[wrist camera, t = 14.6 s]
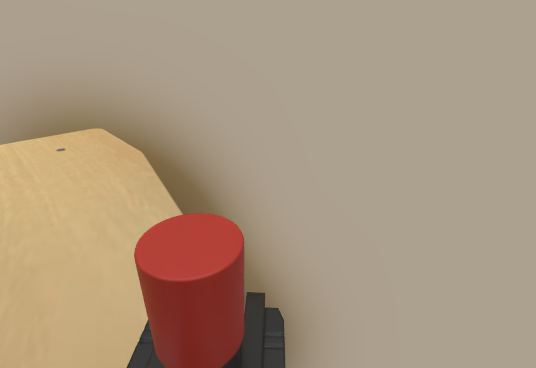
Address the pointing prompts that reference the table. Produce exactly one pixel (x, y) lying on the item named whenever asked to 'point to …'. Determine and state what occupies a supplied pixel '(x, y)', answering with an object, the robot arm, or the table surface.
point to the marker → (194, 290)
